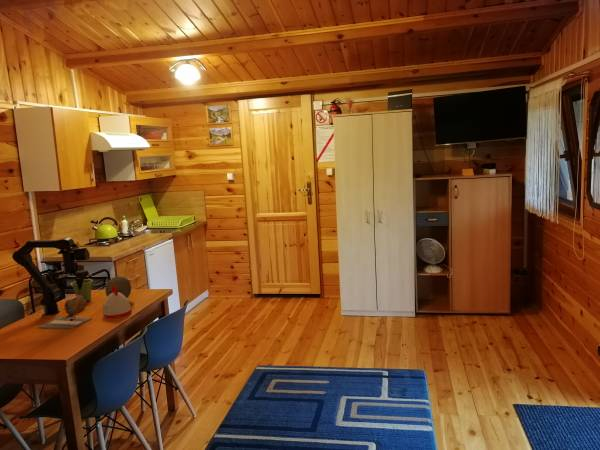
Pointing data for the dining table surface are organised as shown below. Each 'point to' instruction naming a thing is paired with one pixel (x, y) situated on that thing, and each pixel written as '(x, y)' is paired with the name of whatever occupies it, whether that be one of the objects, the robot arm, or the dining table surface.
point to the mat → (65, 323)
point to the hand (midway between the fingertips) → (73, 289)
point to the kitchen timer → (116, 305)
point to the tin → (75, 304)
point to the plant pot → (83, 288)
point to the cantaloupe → (119, 286)
